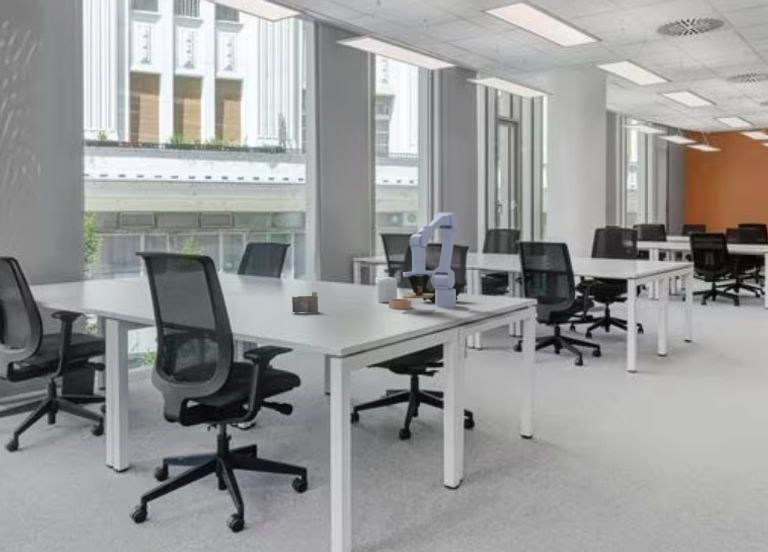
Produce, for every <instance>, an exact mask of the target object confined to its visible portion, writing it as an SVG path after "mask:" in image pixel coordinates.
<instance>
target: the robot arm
mask: <svg viewBox="0 0 768 552" xmlns="http://www.w3.org/2000/svg"><path fill="white" fill-rule="evenodd" d="M458 226H459V217H458V214H457V212H454V211H453V212H439V211H438V212H436V213H435V214H434V215H433V219H432V221H431V222H430V223H429V224H424V225H423V226H422V228H421V229H420V230H419V231H418V232H417V233H413V234H412V235H411V236H410V238H409V241H408V243H409V246H410V251H411V256H412V257H411V261H412V262H411V266H412V267H411V269H412V270H411V271H405V272H404V271H402V277H404V278H407V279H408V280H409V283H410V285H411V288H412V292H413V293H417V281H418V278H416V276H420V282H421V287H423V292H425V288H426V287H427V284H428V282H429V280H430V278H431V280H430V283H431V285H432V287H433V289H435V288H436V289H435V302H434V303H435V305H434V306H433V308H438V309H439V308H440V309H441V308H443V309H444V308H446V309H447V308H449V309H454V308H455V307H456V306H457V301H456V290H455V289H451V288H452V287H453V286H454V284H455V280H456V278H455V273H456V272H455V271H453V270H452V268H451V264H452V258H453V252H454V245H455V244H454V243H455V237H456V236H455V235H456V232H457V231H458ZM437 229H438V230H439V231H440V232H442V233H443V236H442V243H441V245H442V246H441V251H440V258H439V263H438V267H436V268H435V269H434V270H432V271H430V270H426V271H425V266H426V247H428V244H429V241H430V240H431V238H432V237H433V236H434V235H435V231H436V230H437ZM416 274H422V275H416Z"/></svg>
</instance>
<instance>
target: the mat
mask: <svg viewBox="0 0 768 552" xmlns="http://www.w3.org/2000/svg"><path fill="white" fill-rule="evenodd" d="M436 310H437V309H411V308H409V309H405V310H404V311H403V312H402V313H401V315H433V314H434V313H435V312H436Z"/></svg>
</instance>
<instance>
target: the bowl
mask: <svg viewBox="0 0 768 552" xmlns="http://www.w3.org/2000/svg"><path fill="white" fill-rule="evenodd" d="M411 308H412V299H410V298H397V299H391V300H389V302H388V309H391V310H407V309H411Z"/></svg>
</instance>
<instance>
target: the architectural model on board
mask: <svg viewBox="0 0 768 552" xmlns="http://www.w3.org/2000/svg"><path fill="white" fill-rule="evenodd" d="M311 294H312V295H302V296H301V295H300V296H298V295H297V296H292V297H291V298H292V299H291V302H292V307H291V308H292V313H293V312H318V313H319V296H318V291H312V292H311Z"/></svg>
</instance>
